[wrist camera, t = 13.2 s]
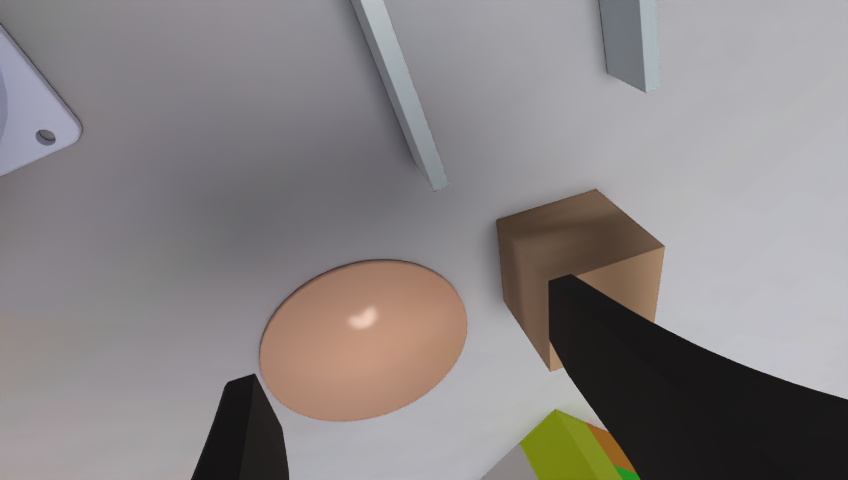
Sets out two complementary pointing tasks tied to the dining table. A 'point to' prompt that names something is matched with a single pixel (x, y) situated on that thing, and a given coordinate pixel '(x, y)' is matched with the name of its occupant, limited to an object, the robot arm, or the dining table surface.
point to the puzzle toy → (564, 454)
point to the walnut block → (575, 260)
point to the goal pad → (363, 340)
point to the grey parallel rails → (625, 56)
